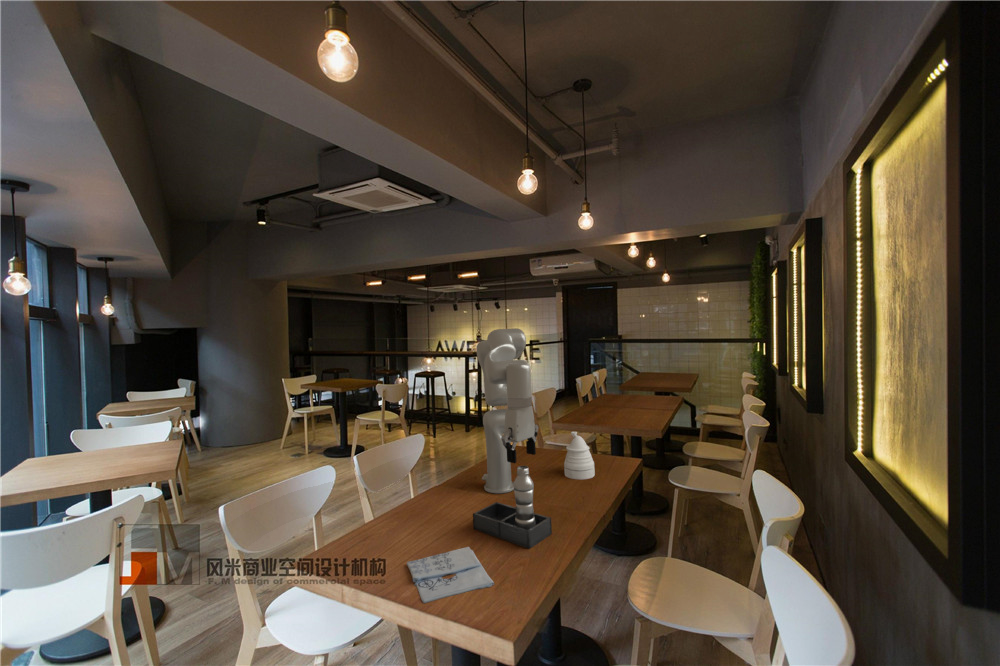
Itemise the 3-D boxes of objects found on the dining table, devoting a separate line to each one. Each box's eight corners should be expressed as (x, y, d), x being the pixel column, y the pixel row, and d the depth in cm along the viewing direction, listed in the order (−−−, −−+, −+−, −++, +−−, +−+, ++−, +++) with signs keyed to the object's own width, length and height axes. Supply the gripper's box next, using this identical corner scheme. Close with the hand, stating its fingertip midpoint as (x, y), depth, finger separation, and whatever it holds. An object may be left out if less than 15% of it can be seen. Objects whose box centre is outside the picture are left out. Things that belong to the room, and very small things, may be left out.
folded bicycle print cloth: (472, 552, 128) (471, 544, 128) (495, 588, 109) (495, 580, 109) (406, 566, 122) (405, 558, 122) (418, 608, 103) (418, 599, 103)
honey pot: (558, 475, 190) (556, 434, 190) (575, 467, 199) (573, 428, 199) (584, 481, 181) (582, 437, 181) (600, 473, 191) (598, 431, 191)
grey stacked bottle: (538, 528, 138) (535, 464, 138) (532, 538, 132) (530, 471, 132) (518, 526, 140) (516, 463, 140) (512, 536, 134) (509, 470, 134)
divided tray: (473, 529, 142) (472, 513, 142) (497, 516, 151) (496, 501, 151) (529, 549, 127) (528, 531, 127) (551, 533, 136) (551, 517, 136)
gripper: (526, 397, 144) (528, 449, 145) (491, 406, 131) (494, 463, 132) (545, 399, 140) (547, 453, 140) (511, 408, 126) (513, 468, 127)
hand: (521, 458), depth 136 cm, fingers open, 9 cm apart
